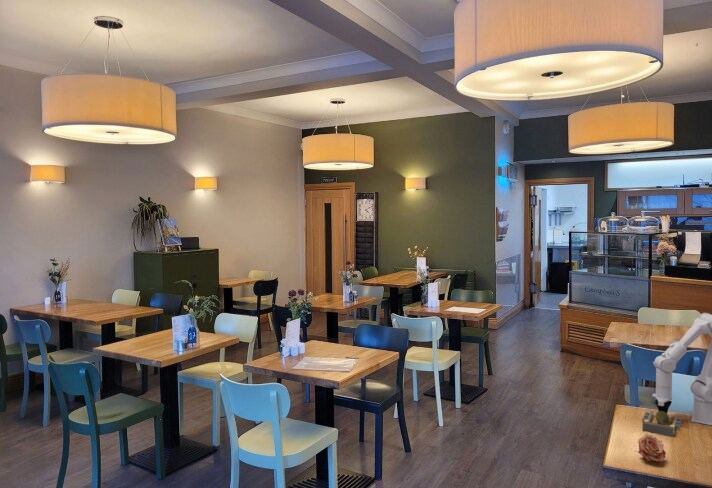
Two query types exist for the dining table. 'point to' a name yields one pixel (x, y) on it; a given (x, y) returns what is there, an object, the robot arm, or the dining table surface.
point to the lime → (662, 417)
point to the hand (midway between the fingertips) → (662, 418)
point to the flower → (651, 448)
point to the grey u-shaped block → (660, 425)
